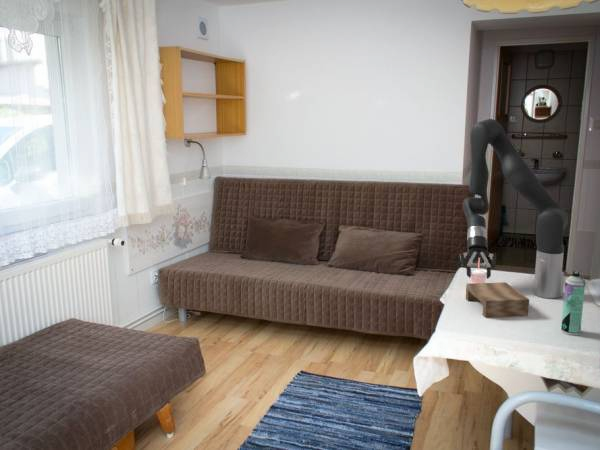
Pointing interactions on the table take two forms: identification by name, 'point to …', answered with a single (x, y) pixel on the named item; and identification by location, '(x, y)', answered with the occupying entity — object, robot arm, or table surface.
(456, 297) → the table surface
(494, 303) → the walnut shelf stand
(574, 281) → the spray can
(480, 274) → the beverage cup
